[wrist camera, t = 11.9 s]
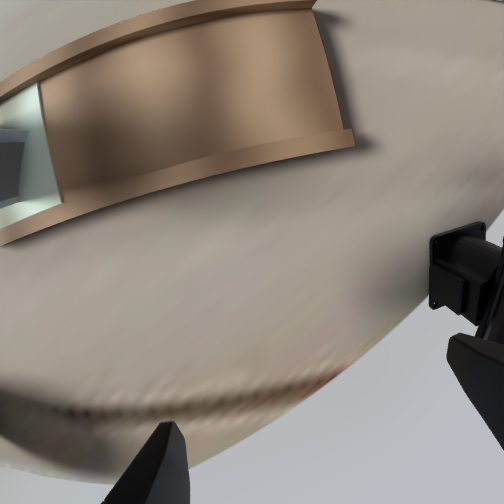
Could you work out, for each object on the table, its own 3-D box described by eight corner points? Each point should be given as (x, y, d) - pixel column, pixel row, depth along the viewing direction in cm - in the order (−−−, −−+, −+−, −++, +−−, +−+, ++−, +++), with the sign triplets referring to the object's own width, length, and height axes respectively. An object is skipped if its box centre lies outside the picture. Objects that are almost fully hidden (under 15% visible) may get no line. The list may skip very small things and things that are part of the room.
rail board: (299, 7, 16) (313, -15, 13) (334, 146, 19) (356, 146, 16) (-34, 127, 15) (-61, 128, 12) (-7, 246, 18) (-32, 260, 15)
